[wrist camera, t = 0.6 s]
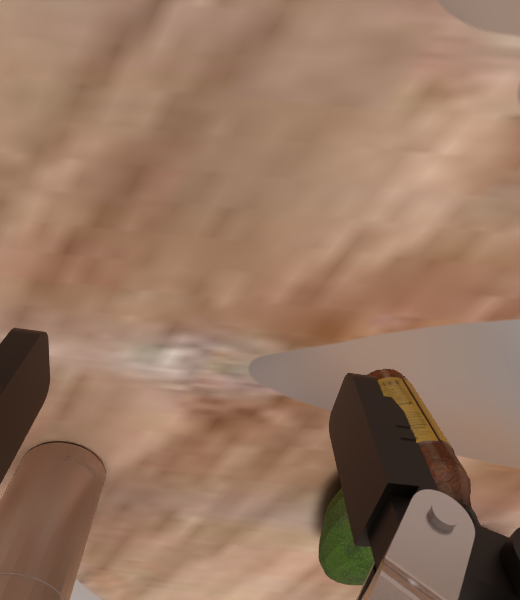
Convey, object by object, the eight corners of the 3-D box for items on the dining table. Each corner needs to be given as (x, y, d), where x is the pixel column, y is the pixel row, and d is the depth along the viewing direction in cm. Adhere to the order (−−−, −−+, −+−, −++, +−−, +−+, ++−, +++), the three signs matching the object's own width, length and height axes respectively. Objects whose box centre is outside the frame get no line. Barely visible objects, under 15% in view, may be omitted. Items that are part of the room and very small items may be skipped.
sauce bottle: (341, 401, 48) (408, 591, 31) (372, 357, 46) (463, 536, 28) (391, 418, 50) (481, 608, 33) (423, 377, 48) (539, 557, 30)
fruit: (352, 542, 60) (374, 624, 51) (288, 523, 57) (300, 607, 49) (420, 469, 54) (458, 547, 45) (353, 444, 52) (379, 522, 43)
